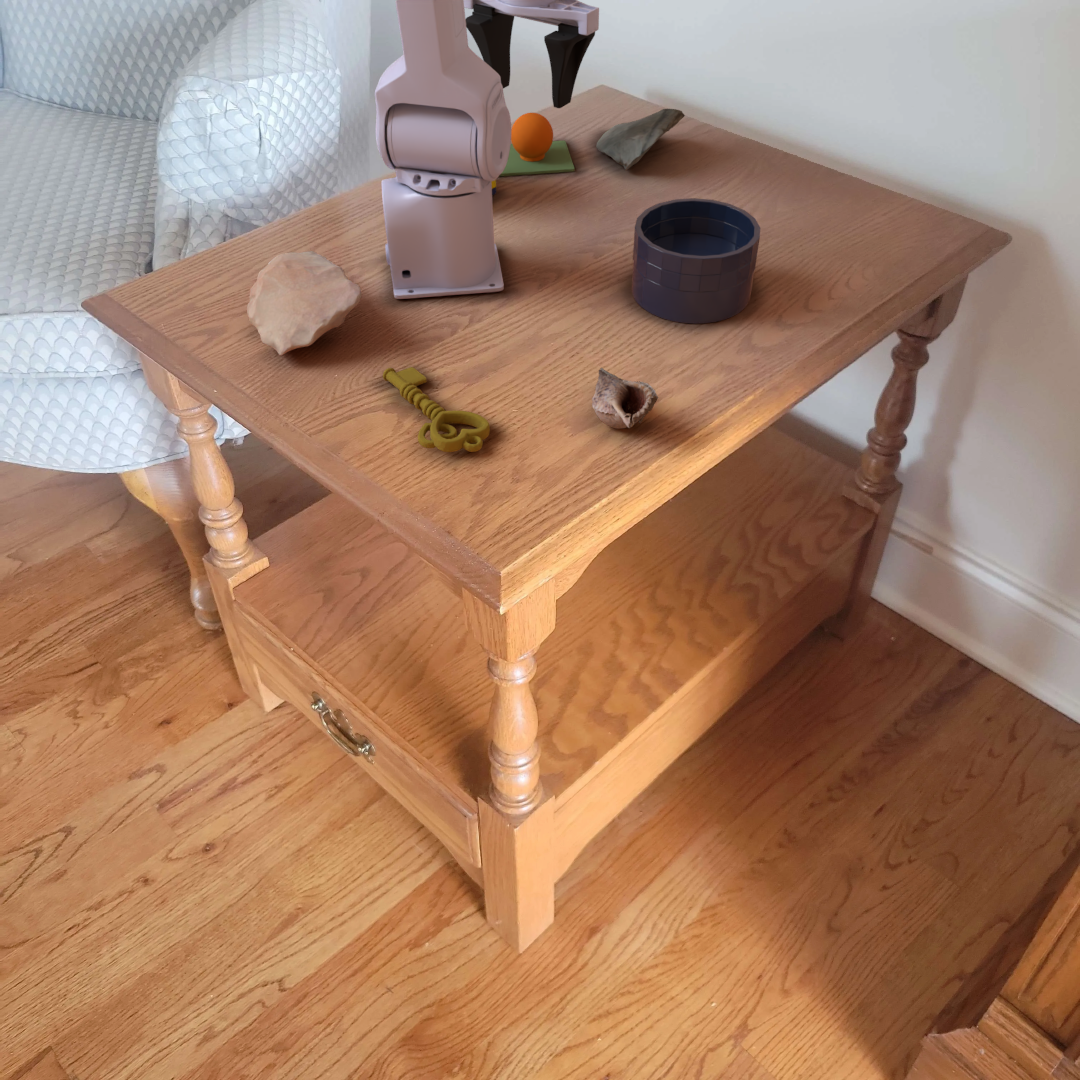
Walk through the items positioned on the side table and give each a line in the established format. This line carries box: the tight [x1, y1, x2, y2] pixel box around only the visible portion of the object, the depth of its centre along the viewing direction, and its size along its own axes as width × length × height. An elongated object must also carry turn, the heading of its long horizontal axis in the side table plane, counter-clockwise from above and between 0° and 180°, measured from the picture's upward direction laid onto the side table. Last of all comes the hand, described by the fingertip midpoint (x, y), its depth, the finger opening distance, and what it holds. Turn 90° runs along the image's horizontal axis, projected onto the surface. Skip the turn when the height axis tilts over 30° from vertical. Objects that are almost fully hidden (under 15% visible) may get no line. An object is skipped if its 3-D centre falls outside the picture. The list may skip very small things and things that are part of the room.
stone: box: [595, 108, 686, 171], centre depth 105 cm, size 11×4×10 cm
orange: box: [511, 112, 554, 162], centre depth 104 cm, size 4×4×4 cm
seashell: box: [591, 367, 659, 429], centre depth 73 cm, size 4×8×4 cm
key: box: [382, 366, 491, 453], centre depth 75 cm, size 12×1×5 cm
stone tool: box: [246, 250, 363, 356], centre depth 84 cm, size 9×5×15 cm
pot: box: [631, 197, 762, 325], centre depth 85 cm, size 10×10×6 cm
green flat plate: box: [498, 139, 576, 178], centre depth 106 cm, size 8×7×1 cm
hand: (531, 96), depth 102 cm, fingers open, 7 cm apart
